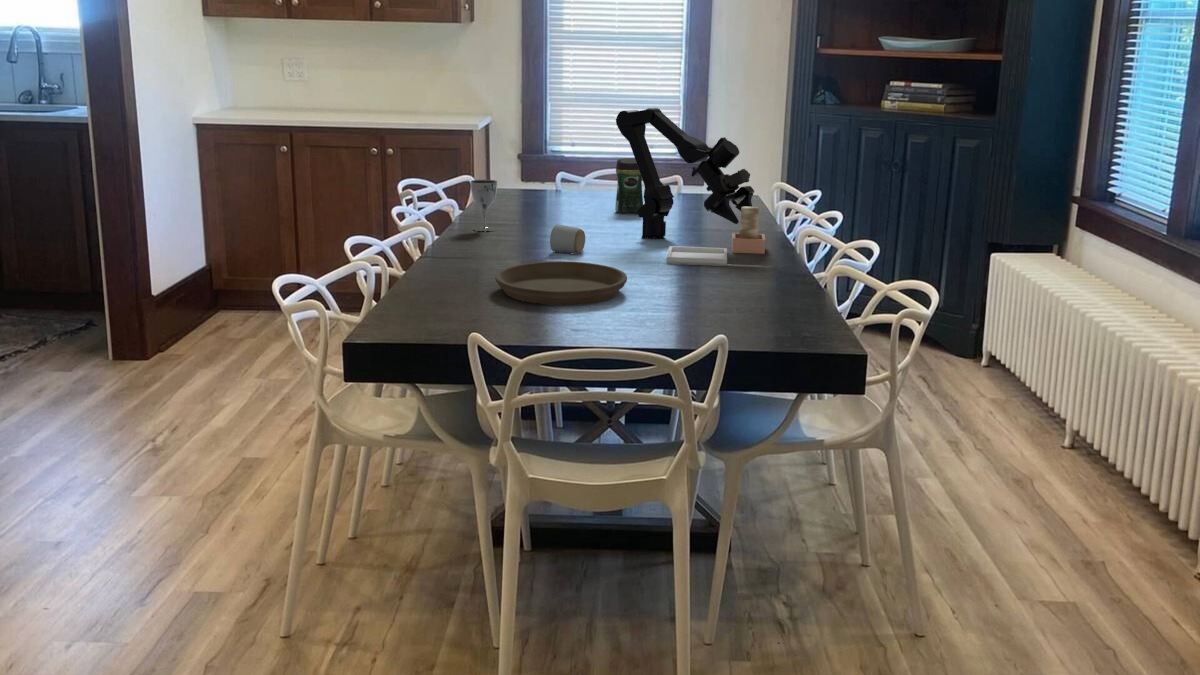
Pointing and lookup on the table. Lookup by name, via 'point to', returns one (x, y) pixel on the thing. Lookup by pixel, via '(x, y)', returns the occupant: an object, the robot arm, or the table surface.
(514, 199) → the table surface
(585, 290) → the plant saucer
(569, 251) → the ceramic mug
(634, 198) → the coffee jar
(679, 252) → the grey tray
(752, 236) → the beech cylinder
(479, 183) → the wine glass
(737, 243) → the cup holder
